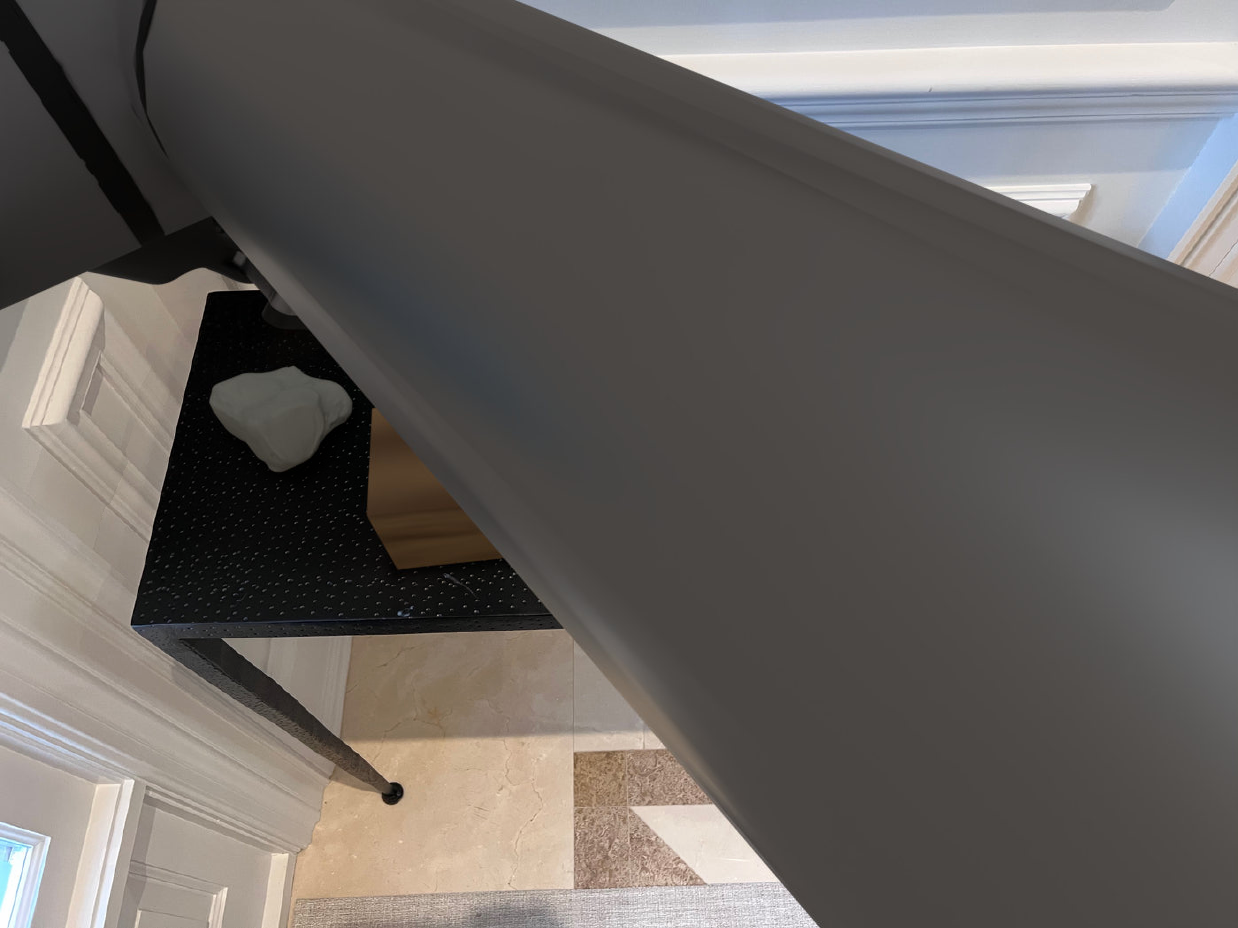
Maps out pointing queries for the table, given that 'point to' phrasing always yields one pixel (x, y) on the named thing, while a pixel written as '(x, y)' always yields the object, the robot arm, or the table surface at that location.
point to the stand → (416, 507)
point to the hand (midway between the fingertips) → (487, 290)
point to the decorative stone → (280, 413)
